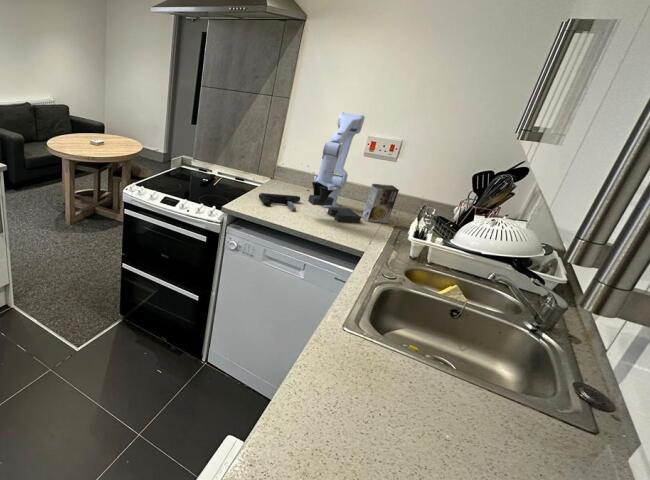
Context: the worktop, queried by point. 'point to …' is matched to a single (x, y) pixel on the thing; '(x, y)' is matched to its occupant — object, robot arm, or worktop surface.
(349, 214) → the notch pad
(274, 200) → the door handle
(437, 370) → the worktop surface
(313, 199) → the pad
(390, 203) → the coffee box
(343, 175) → the robot arm
